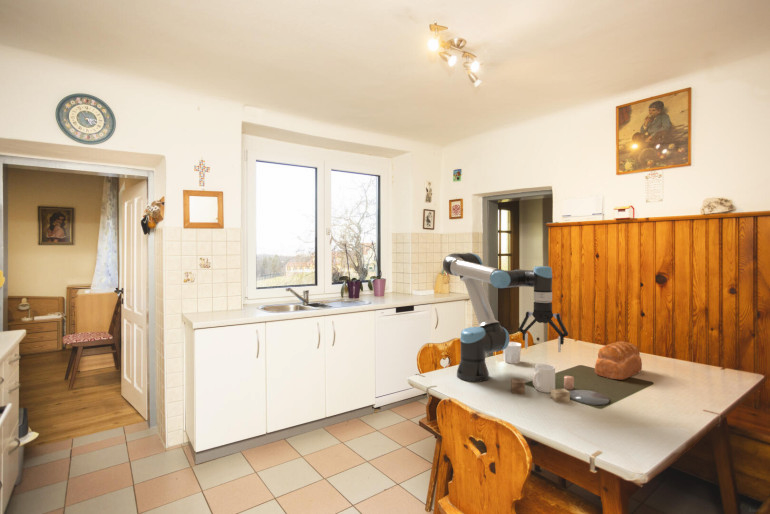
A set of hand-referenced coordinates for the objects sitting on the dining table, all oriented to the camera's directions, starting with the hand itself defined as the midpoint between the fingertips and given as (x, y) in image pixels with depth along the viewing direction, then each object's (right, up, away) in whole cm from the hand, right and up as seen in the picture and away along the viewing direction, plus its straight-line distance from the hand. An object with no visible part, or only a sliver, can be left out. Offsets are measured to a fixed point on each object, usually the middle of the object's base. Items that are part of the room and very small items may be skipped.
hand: (542, 349), depth 170 cm
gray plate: (+15, -18, -9) cm, 25 cm away
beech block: (+3, -18, -11) cm, 21 cm away
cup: (+1, -17, +45) cm, 48 cm away
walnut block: (-11, -18, -1) cm, 21 cm away
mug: (0, -18, 0) cm, 18 cm away
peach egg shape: (+13, -18, +3) cm, 22 cm away
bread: (+48, -18, +25) cm, 57 cm away
